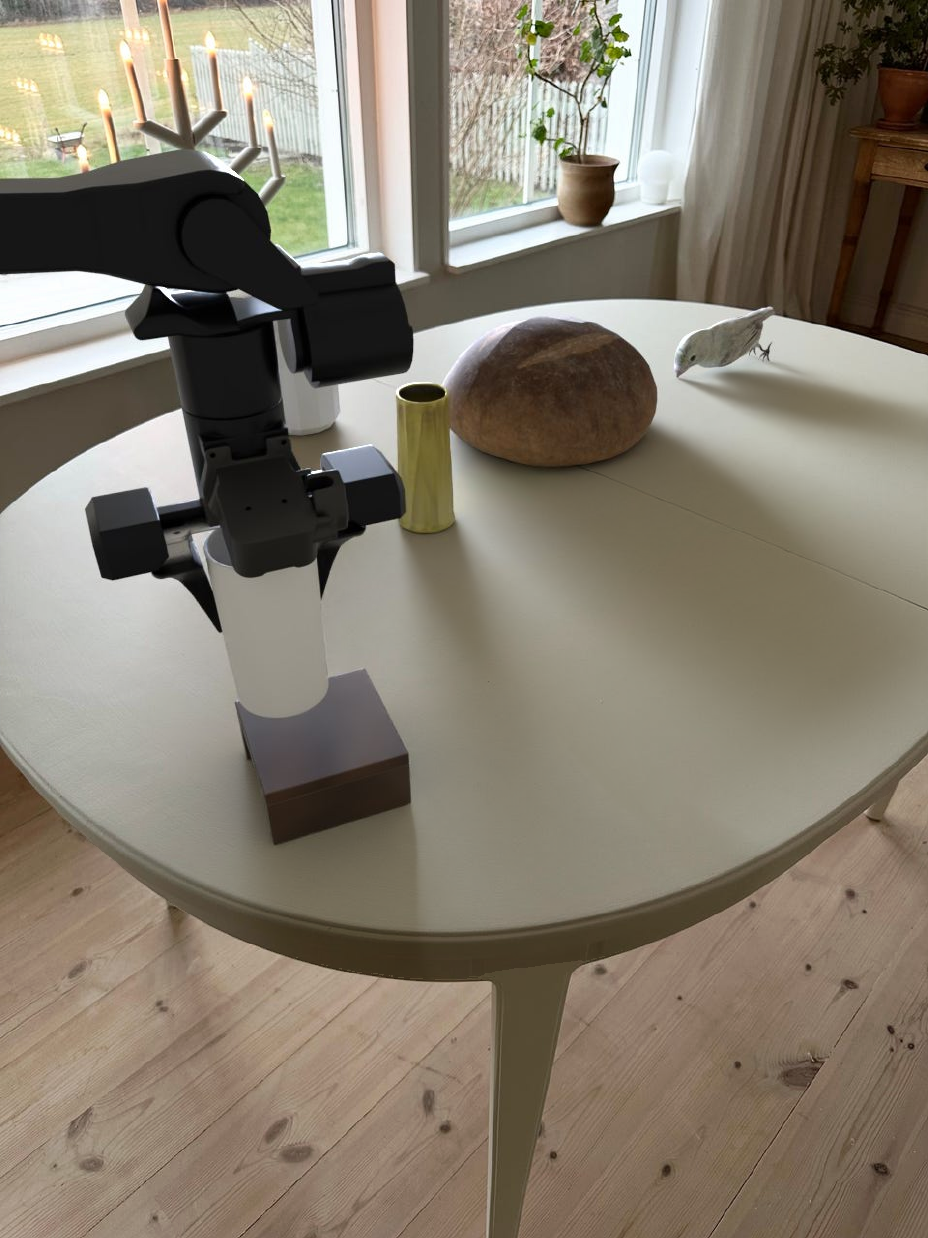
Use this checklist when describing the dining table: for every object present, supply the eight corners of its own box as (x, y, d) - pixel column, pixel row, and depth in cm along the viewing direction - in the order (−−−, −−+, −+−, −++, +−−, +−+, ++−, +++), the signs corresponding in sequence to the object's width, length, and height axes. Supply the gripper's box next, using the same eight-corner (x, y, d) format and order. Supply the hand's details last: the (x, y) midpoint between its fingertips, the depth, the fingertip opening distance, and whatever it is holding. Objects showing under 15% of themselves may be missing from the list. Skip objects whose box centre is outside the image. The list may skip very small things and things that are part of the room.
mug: (351, 693, 63) (335, 543, 56) (265, 736, 60) (236, 583, 53) (277, 626, 70) (254, 484, 63) (195, 662, 66) (161, 516, 59)
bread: (399, 418, 118) (394, 316, 111) (554, 370, 131) (560, 276, 124) (531, 497, 102) (537, 383, 94) (694, 433, 115) (711, 329, 107)
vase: (418, 540, 95) (413, 410, 86) (386, 516, 99) (379, 389, 90) (466, 522, 98) (466, 394, 89) (433, 499, 102) (430, 375, 93)
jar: (250, 418, 119) (229, 275, 108) (317, 400, 123) (303, 260, 113) (286, 445, 112) (267, 296, 102) (355, 425, 117) (344, 279, 106)
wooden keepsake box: (274, 845, 63) (264, 795, 60) (244, 749, 70) (234, 700, 67) (411, 803, 66) (409, 753, 63) (369, 715, 73) (365, 667, 70)
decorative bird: (662, 371, 131) (669, 319, 127) (749, 352, 137) (758, 301, 133) (687, 384, 127) (695, 330, 123) (775, 364, 134) (785, 312, 129)
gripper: (72, 494, 44) (141, 732, 53) (435, 426, 50) (440, 652, 59) (56, 405, 52) (118, 625, 61) (369, 356, 58) (383, 564, 67)
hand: (267, 617), depth 62 cm, fingers closed on mug, 6 cm apart
